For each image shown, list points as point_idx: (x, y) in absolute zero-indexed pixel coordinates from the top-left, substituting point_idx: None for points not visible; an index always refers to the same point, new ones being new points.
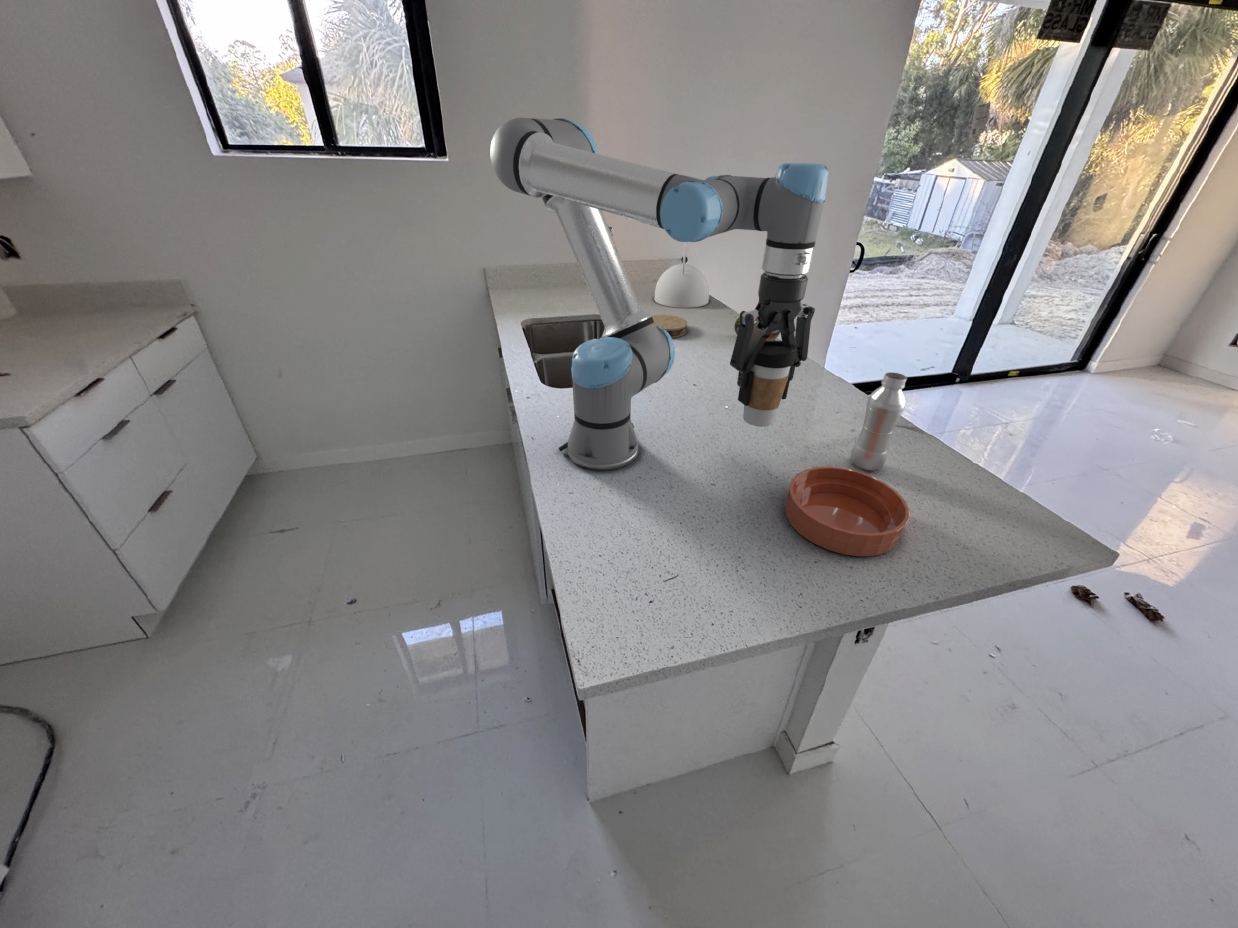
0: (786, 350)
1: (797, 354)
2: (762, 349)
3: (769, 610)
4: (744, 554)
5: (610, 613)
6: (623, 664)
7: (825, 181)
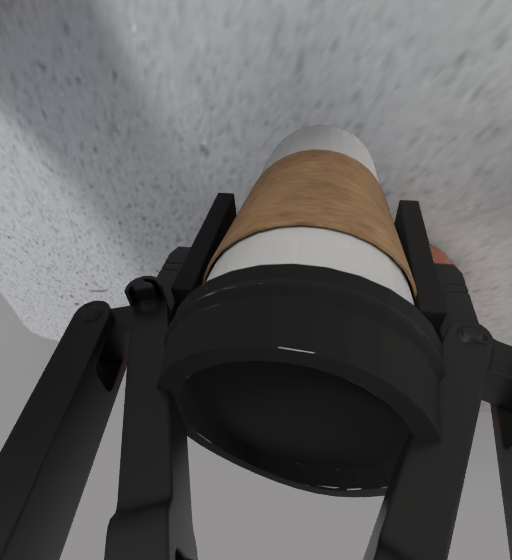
0: (367, 449)
1: (502, 394)
2: (259, 375)
3: None
4: None
5: (38, 300)
6: (56, 335)
7: None
